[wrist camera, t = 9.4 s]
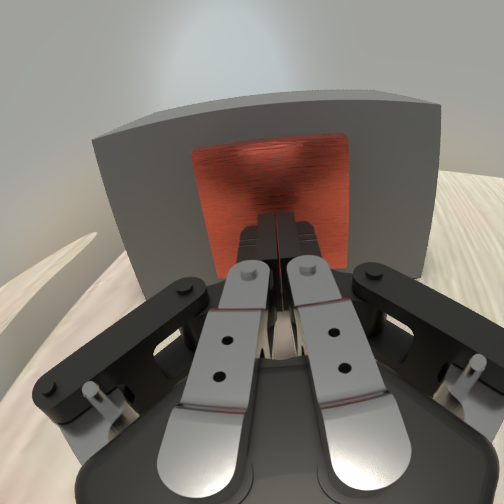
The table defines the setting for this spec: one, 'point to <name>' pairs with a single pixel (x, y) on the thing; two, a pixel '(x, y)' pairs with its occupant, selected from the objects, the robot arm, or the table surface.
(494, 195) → the table surface
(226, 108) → the housing
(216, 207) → the red block
